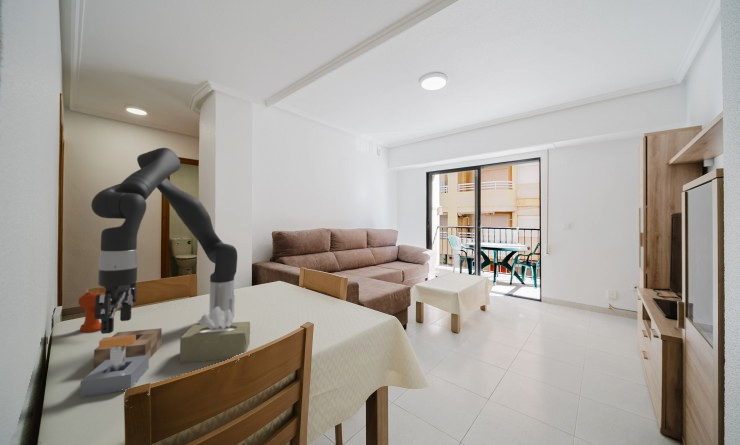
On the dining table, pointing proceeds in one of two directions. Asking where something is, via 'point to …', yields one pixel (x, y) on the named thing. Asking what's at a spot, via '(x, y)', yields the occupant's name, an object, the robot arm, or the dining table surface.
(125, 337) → the bar
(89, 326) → the toy drill
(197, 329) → the tissue box
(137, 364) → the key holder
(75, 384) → the dining table surface
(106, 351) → the block
